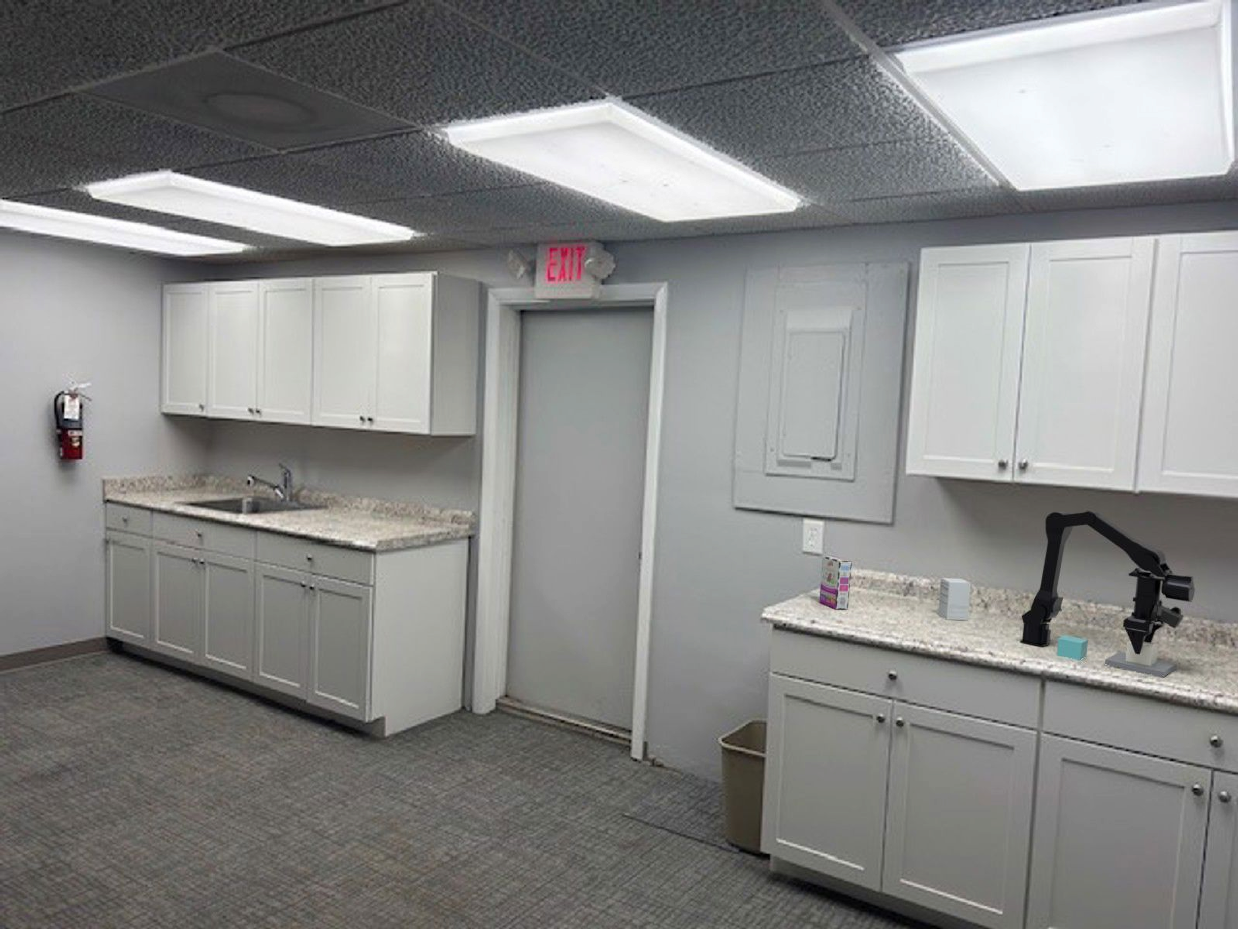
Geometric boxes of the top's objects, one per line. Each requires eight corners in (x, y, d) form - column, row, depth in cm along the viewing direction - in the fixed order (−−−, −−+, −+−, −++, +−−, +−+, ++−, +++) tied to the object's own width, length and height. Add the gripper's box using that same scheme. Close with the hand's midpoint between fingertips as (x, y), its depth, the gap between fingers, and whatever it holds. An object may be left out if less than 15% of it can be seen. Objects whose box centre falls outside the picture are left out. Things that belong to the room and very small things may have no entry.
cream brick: (1125, 660, 241) (1127, 642, 240) (1131, 657, 245) (1133, 639, 245) (1150, 666, 236) (1152, 647, 236) (1156, 662, 241) (1158, 644, 241)
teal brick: (1056, 656, 248) (1058, 638, 248) (1063, 652, 253) (1065, 635, 252) (1080, 661, 244) (1081, 643, 244) (1086, 657, 248) (1087, 640, 248)
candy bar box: (849, 610, 293) (852, 561, 292) (835, 610, 291) (839, 561, 290) (831, 602, 303) (834, 555, 302) (818, 602, 302) (822, 555, 301)
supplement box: (958, 616, 294) (962, 578, 293) (968, 621, 287) (971, 582, 286) (937, 614, 294) (940, 577, 293) (946, 620, 286) (949, 581, 286)
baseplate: (1104, 665, 241) (1105, 659, 241) (1119, 657, 251) (1119, 651, 251) (1163, 677, 231) (1163, 672, 231) (1176, 669, 241) (1176, 663, 241)
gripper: (1173, 604, 227) (1167, 664, 228) (1189, 596, 241) (1184, 653, 242) (1125, 596, 235) (1119, 654, 236) (1143, 589, 248) (1138, 644, 249)
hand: (1142, 651), depth 241 cm, fingers open, 9 cm apart
